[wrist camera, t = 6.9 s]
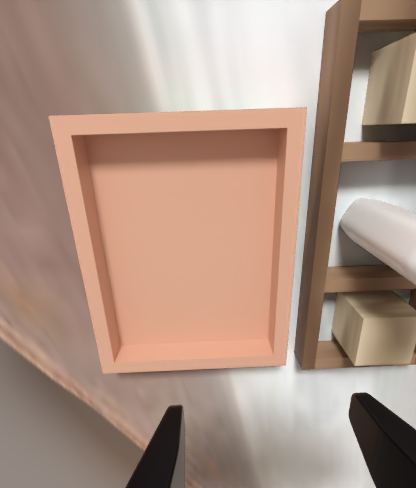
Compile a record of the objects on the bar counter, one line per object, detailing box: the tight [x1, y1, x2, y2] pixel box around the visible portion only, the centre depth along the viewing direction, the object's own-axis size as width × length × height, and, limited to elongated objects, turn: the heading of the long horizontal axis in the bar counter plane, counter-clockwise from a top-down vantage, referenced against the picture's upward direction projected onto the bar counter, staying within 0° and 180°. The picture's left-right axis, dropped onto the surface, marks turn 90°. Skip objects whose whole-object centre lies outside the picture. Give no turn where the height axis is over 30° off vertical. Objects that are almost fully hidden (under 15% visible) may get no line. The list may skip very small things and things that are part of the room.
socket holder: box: [294, 0, 416, 370], centre depth 20 cm, size 10×24×2 cm, turn 2°
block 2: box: [332, 290, 416, 366], centre depth 22 cm, size 4×4×4 cm
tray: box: [49, 107, 307, 374], centre depth 20 cm, size 14×18×2 cm
